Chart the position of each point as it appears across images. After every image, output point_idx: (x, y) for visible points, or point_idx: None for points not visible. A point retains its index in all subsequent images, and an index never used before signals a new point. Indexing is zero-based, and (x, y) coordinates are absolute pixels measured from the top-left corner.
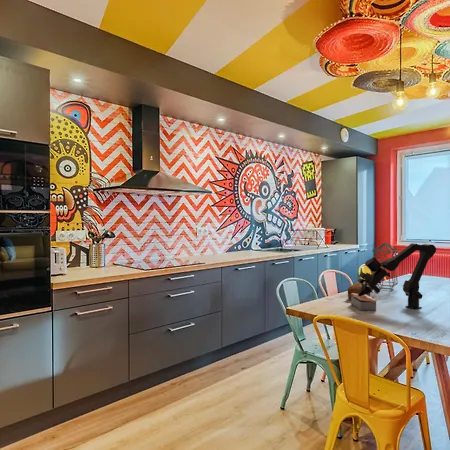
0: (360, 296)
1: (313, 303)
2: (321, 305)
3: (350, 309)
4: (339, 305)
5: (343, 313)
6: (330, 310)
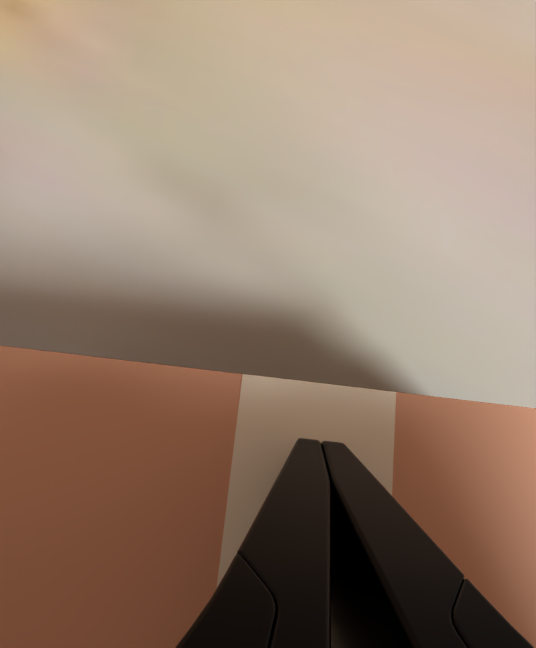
0: (260, 501)
1: (523, 8)
2: (430, 45)
3: (188, 296)
4: (435, 248)
5: (11, 113)
6: (185, 40)
